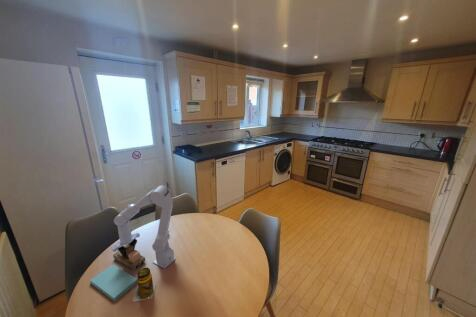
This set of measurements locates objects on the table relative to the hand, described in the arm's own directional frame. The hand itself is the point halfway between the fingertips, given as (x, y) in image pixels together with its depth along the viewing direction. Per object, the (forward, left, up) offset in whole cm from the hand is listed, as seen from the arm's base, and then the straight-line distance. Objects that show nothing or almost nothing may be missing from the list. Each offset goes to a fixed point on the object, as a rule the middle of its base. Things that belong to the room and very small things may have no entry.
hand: (128, 254), depth 105 cm
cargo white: (+5, 0, -1) cm, 6 cm away
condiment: (-25, +9, -5) cm, 27 cm away
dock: (-7, +13, -4) cm, 15 cm away
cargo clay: (-5, 0, -1) cm, 6 cm away
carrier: (0, 0, -3) cm, 3 cm away
